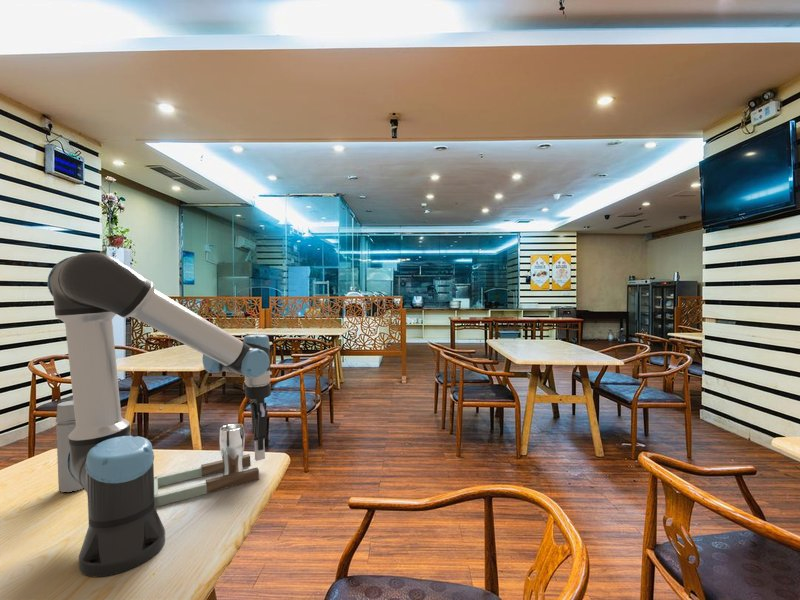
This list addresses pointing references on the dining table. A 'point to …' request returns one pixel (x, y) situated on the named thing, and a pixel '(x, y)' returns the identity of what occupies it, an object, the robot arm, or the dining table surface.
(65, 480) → the water bottle
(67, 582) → the dining table surface
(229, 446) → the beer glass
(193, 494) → the pale green u-shaped frame
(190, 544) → the dining table surface
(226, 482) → the slot rails
